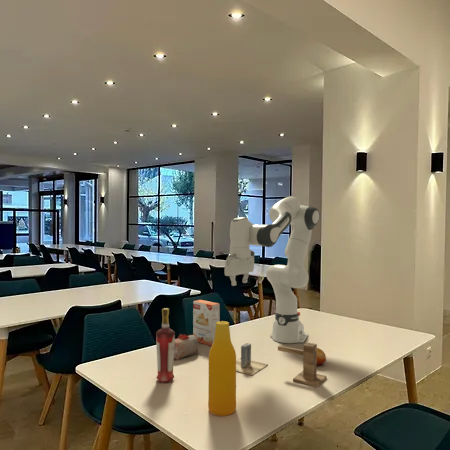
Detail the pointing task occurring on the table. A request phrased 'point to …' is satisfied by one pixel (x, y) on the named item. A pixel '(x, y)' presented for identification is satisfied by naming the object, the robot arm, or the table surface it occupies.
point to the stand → (307, 364)
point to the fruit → (320, 357)
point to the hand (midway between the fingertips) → (239, 284)
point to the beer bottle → (222, 372)
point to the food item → (185, 346)
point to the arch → (245, 355)
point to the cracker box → (205, 320)
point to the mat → (250, 367)
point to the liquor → (165, 349)
